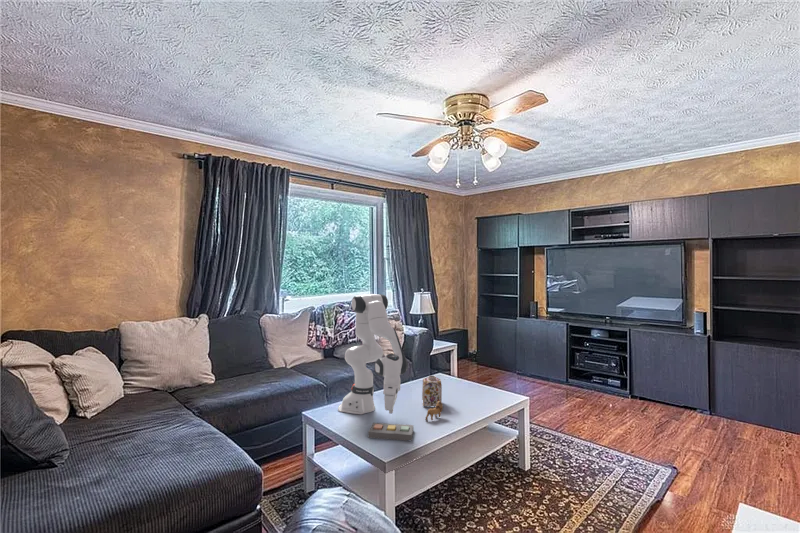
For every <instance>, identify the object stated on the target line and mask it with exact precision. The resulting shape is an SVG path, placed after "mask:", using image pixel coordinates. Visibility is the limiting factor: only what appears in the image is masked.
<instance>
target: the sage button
mask: <svg viewBox="0 0 800 533" xmlns="http://www.w3.org/2000/svg"><path fill="white" fill-rule="evenodd" d="M401 431H407V432H409V426H401Z"/></svg>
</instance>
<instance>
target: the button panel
mask: <svg viewBox="0 0 800 533" xmlns="http://www.w3.org/2000/svg"><path fill="white" fill-rule="evenodd" d="M375 424H380V425H383V429H382V430H377V429H374V426H375ZM388 425H395V426H396V430H395V431H392V430H387V427H388ZM401 426H409V432H407V431H401ZM413 435H414V425H413V424H403V423H401V424H399V423H398V424H397V423H387V422H386V423H383V422H372V423H371V426H370V427H369V430H368V436H367V438H368V439H378V440H379V439H380V440H393V441H394V440H395V441H407V440H411V441H412V439H413Z"/></svg>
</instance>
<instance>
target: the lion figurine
mask: <svg viewBox="0 0 800 533" xmlns="http://www.w3.org/2000/svg"><path fill="white" fill-rule="evenodd" d="M443 407H444V406H443V402H441V401H438V402H437V403H436V407H433V408H428V410H427V412H426V415H425V419H424V420H427V421H425V422H426V423H428V421H429V420H428V418H429V416H430V420H431V421H432V420H434V419H433V418H435V417H438V418H439V417H441V416H442V415H441V414H442V411H443Z"/></svg>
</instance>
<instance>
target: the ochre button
mask: <svg viewBox="0 0 800 533" xmlns="http://www.w3.org/2000/svg"><path fill="white" fill-rule="evenodd" d="M387 430H392V431H395V430H396V426H395V425H388V427H387Z"/></svg>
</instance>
